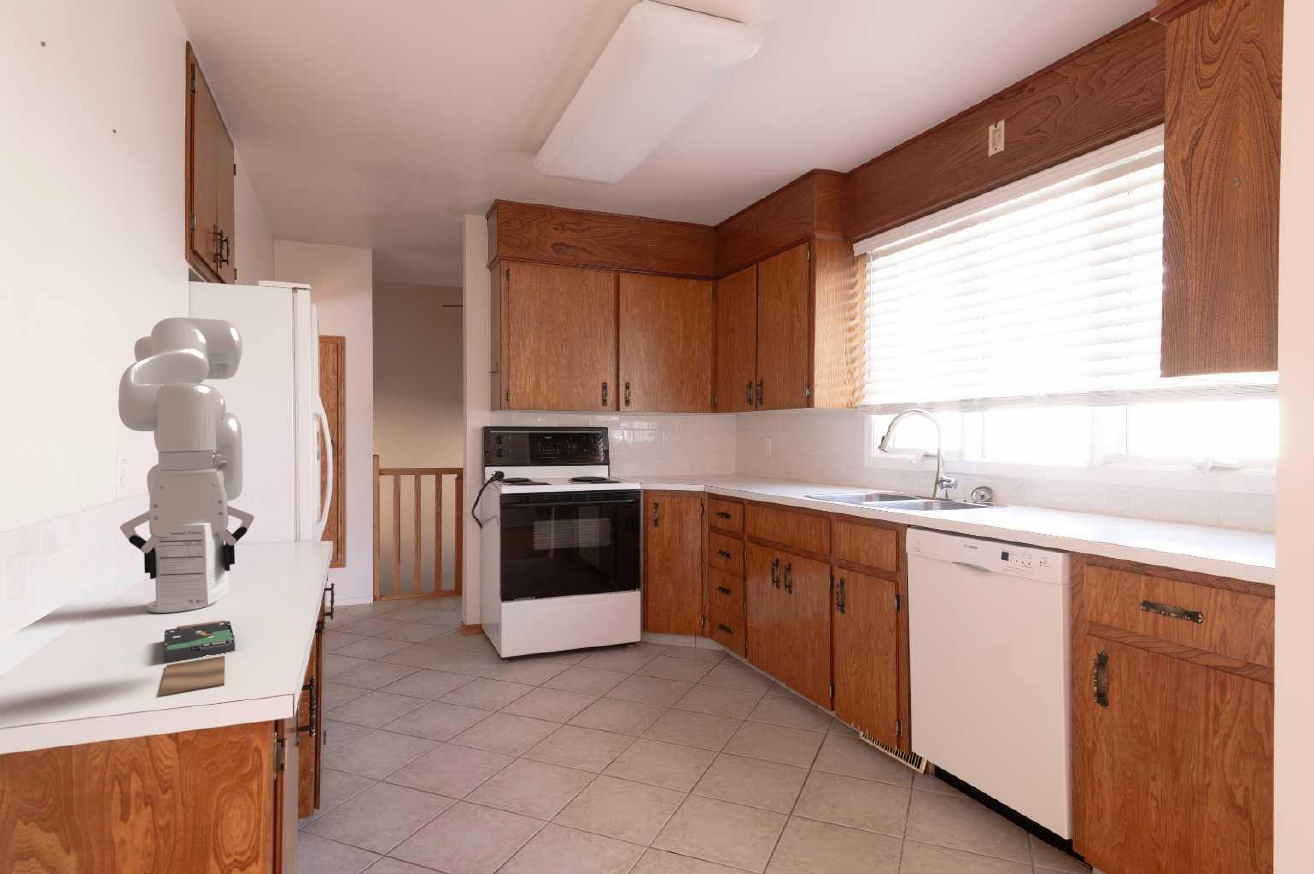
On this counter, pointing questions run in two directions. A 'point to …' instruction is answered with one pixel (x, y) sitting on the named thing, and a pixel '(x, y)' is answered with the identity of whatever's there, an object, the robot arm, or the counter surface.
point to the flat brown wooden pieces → (193, 673)
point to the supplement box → (190, 567)
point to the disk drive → (198, 641)
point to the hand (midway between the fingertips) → (191, 573)
